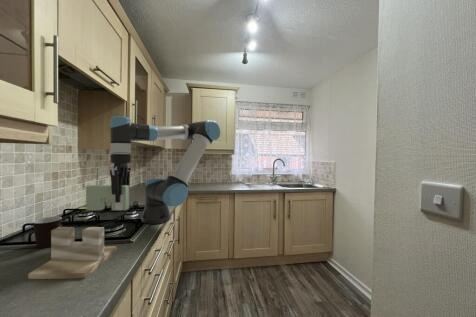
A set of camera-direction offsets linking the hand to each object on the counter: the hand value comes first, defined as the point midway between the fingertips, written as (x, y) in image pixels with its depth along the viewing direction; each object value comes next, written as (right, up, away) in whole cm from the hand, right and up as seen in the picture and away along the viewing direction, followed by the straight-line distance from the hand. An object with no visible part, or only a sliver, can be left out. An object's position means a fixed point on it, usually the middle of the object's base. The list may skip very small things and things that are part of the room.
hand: (121, 208), depth 90 cm
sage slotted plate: (-5, 0, 0) cm, 5 cm away
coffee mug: (-26, -13, -4) cm, 29 cm away
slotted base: (-4, -14, -19) cm, 24 cm away
